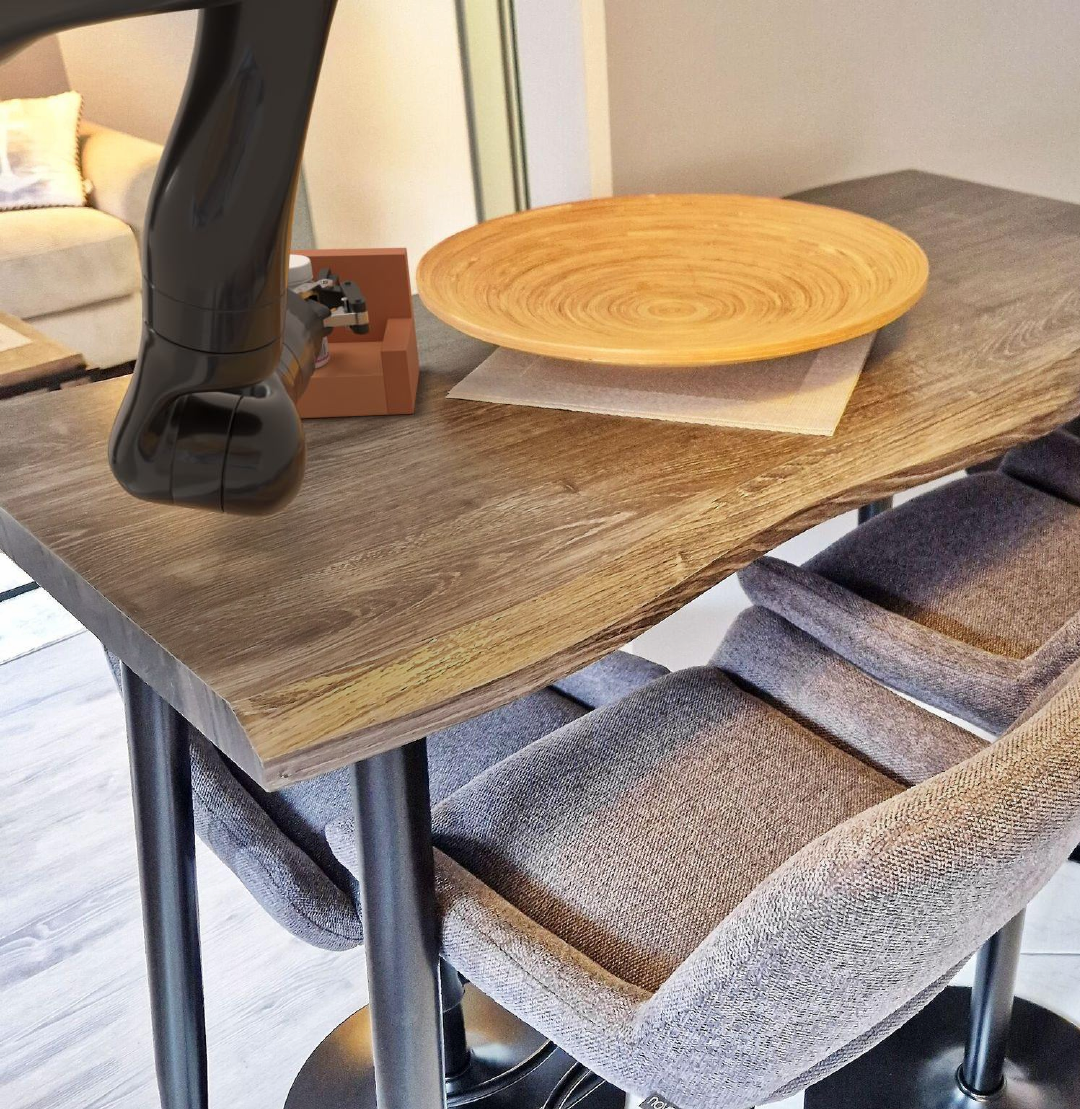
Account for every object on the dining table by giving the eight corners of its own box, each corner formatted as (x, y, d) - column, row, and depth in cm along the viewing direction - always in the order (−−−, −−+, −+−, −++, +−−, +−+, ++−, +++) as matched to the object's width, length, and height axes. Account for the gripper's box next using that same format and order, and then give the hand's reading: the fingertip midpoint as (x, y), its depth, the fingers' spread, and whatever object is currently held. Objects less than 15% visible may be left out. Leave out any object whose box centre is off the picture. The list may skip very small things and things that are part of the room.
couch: (181, 423, 98) (152, 289, 92) (206, 377, 106) (181, 252, 101) (413, 413, 101) (398, 282, 95) (419, 369, 109) (406, 247, 104)
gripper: (358, 297, 85) (378, 233, 99) (137, 303, 82) (191, 236, 97) (371, 399, 88) (389, 322, 103) (160, 407, 86) (209, 328, 101)
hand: (293, 281), depth 100 cm, fingers closed on pill bottle, 4 cm apart
